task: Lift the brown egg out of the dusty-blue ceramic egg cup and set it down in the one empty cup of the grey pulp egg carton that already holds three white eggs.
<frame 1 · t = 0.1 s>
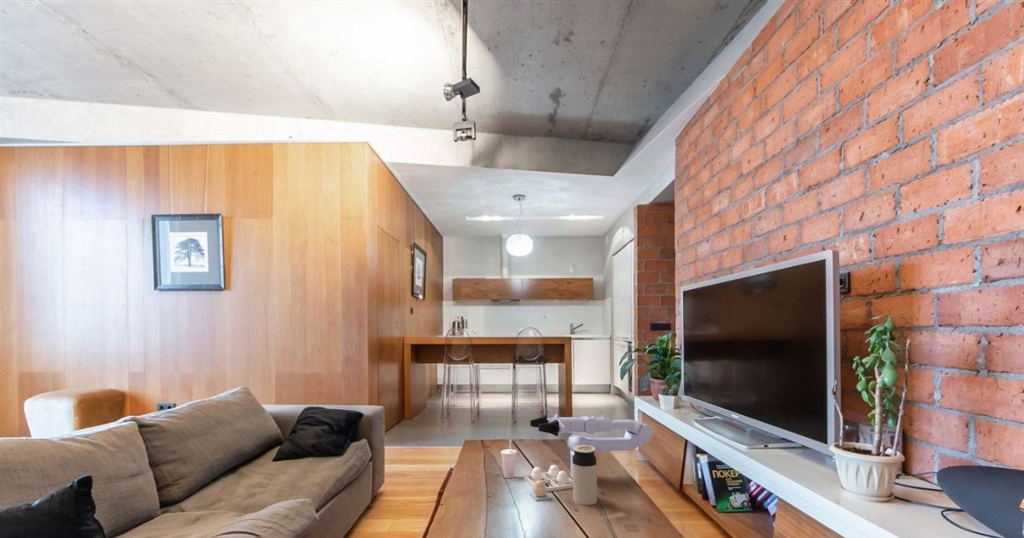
hand: (534, 425, 172), 22 cm above the table, tool horizontal, fingers open, 7 cm apart
carton: (549, 485, 169), on the table
travel mug: (585, 504, 153), on the table
egg cup: (540, 500, 156), on the table
smoothie: (508, 477, 178), on the table
brown egg: (540, 496, 156), point 1 cm above the table, touching egg cup
white eggs: (549, 485, 169), resting on carton
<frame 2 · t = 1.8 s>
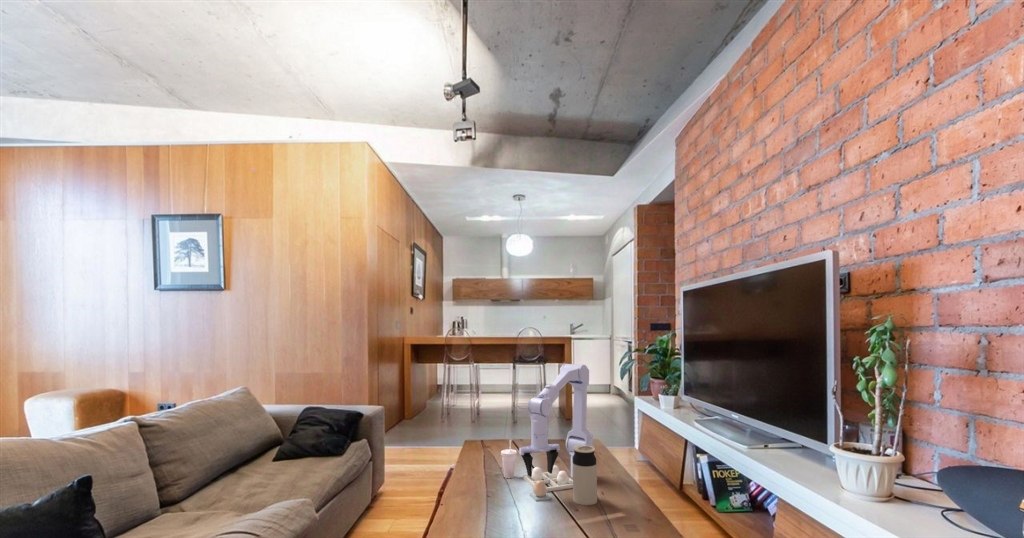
hand: (539, 474, 157), 9 cm above the table, tool pointing down, fingers open, 7 cm apart
nothing on the table moved.
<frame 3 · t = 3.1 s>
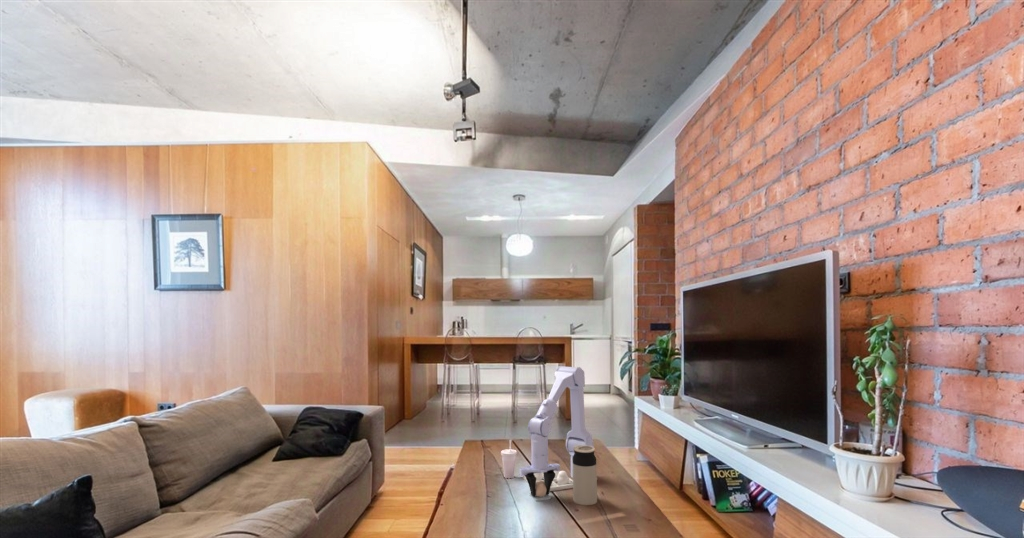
hand: (540, 494, 156), 2 cm above the table, tool pointing down, fingers closed on brown egg, 4 cm apart
brown egg: (540, 496, 156), point 1 cm above the table, touching egg cup, gripper
everything else where it was.
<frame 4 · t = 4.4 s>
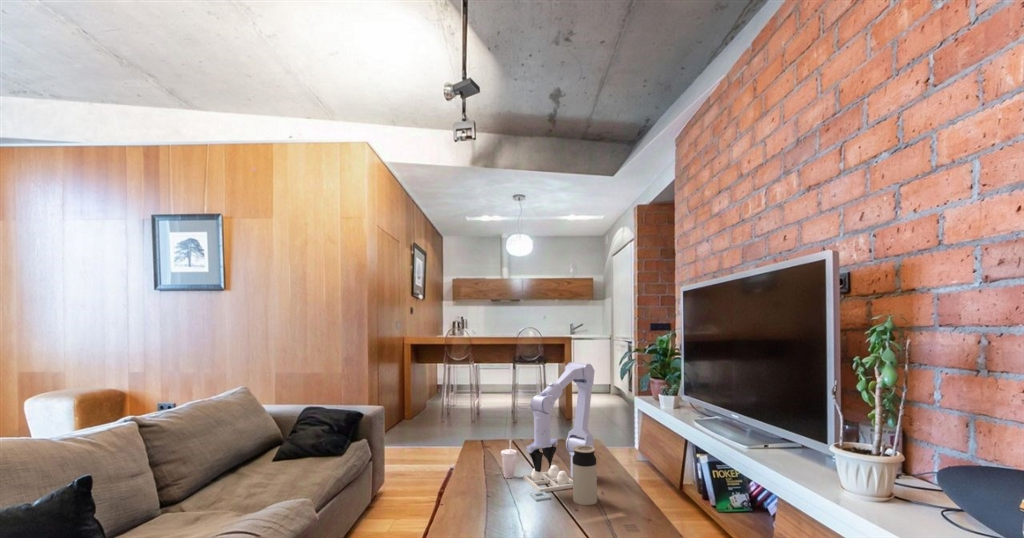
hand: (542, 469, 161), 9 cm above the table, tool pointing down, fingers closed on brown egg, 4 cm apart
brown egg: (542, 471, 161), point 8 cm above the table, touching gripper
everything else where it was.
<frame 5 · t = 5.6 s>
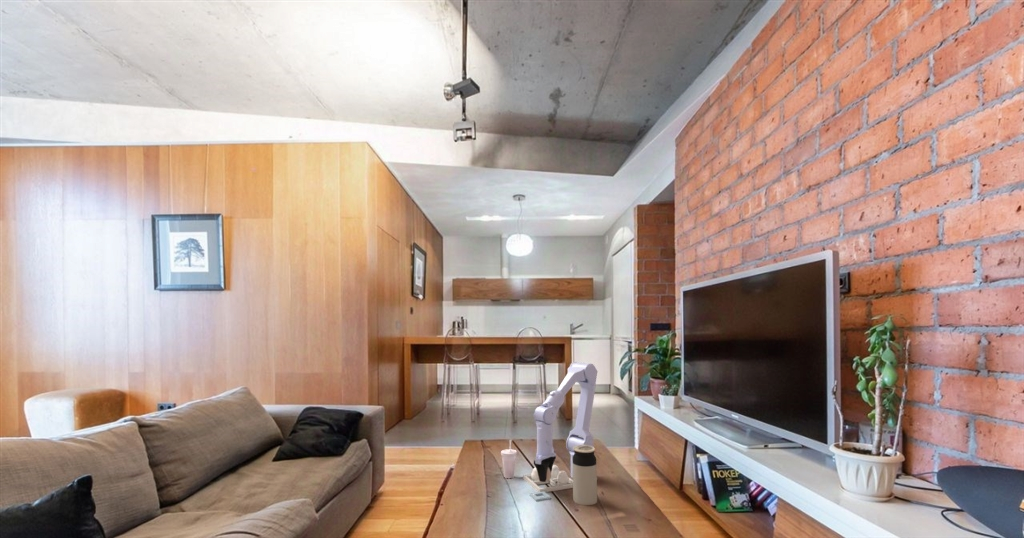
hand: (545, 479, 165), 4 cm above the table, tool pointing down, fingers closed on brown egg, 4 cm apart
brown egg: (545, 481, 165), point 3 cm above the table, touching gripper
everything else where it was.
when the fingers open (3 cm above the table, at t = 6.2 s): brown egg drops 2 cm, resting on carton.
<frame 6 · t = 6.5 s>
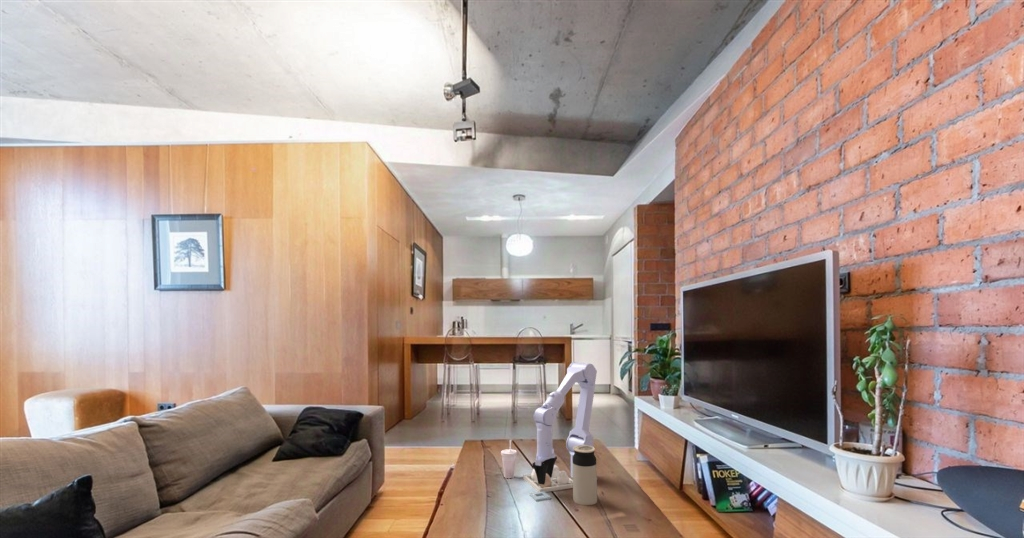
hand: (545, 480, 165), 3 cm above the table, tool pointing down, fingers open, 7 cm apart
brown egg: (545, 488, 165), resting on carton
everything else where it was.
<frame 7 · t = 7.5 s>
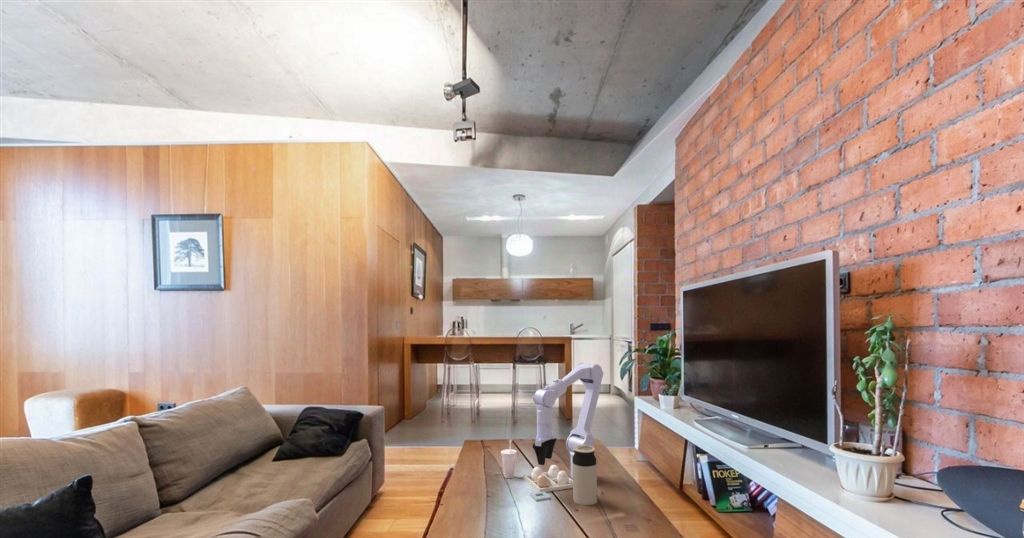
hand: (545, 461, 166), 10 cm above the table, tool pointing down, fingers open, 7 cm apart
brown egg: (545, 488, 165), point 1 cm above the table, tilted 27°, touching carton
everything else where it was.
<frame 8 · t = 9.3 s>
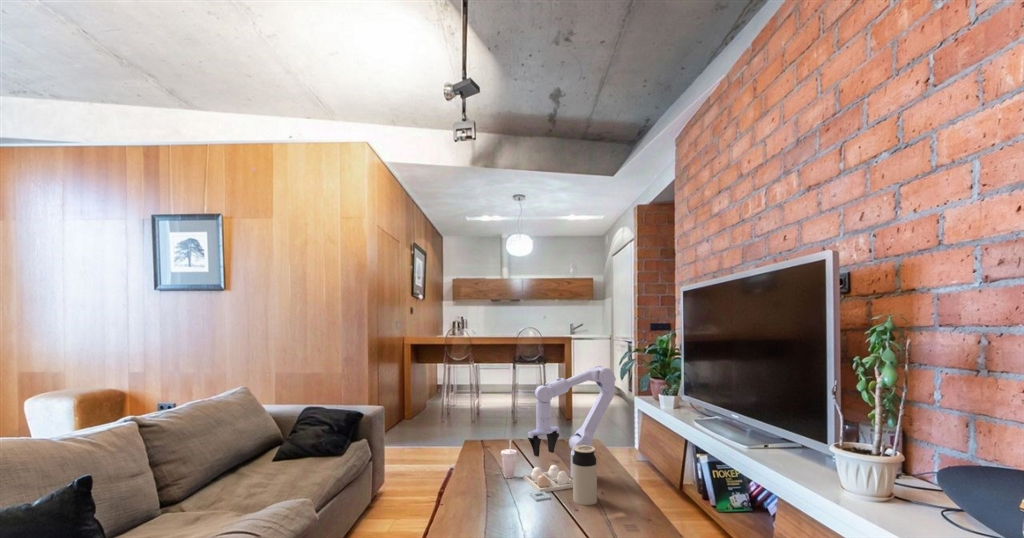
hand: (543, 454, 175), 10 cm above the table, tool pointing down, fingers open, 7 cm apart
nothing on the table moved.
at the end: brown egg 0.1 cm from the target spot on the carton, point 0.8 cm above the carton's base; the gripper is holding nothing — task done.
